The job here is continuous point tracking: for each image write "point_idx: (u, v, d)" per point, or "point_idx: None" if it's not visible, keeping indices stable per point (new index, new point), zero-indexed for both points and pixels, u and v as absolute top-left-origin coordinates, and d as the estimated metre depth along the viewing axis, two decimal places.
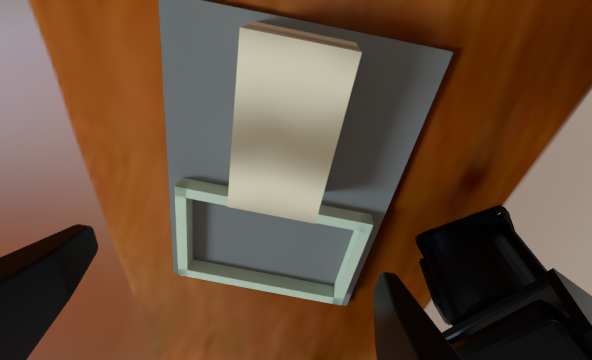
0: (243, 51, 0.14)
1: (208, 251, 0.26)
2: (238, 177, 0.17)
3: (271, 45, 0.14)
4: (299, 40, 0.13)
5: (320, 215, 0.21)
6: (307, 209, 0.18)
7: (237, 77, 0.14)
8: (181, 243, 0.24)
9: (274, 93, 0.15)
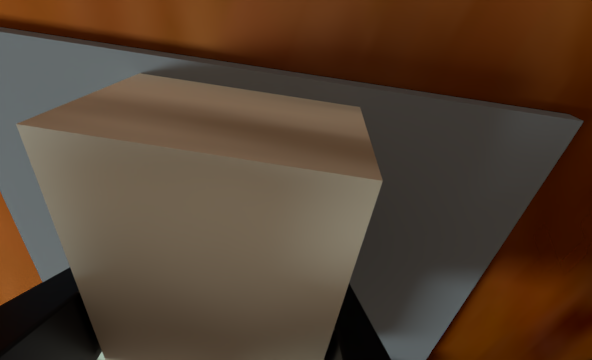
0: (51, 181, 0.05)
1: None
2: None
3: (119, 166, 0.05)
4: (195, 153, 0.05)
5: None
6: None
7: (60, 234, 0.06)
8: None
9: (160, 265, 0.06)
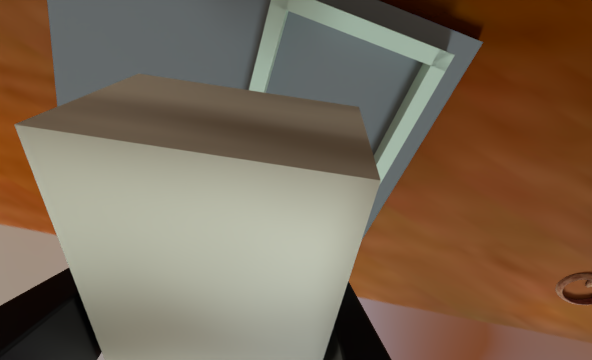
0: (49, 181, 0.05)
1: None
2: None
3: (117, 166, 0.05)
4: (193, 153, 0.05)
5: (255, 67, 0.16)
6: None
7: (59, 234, 0.06)
8: None
9: (159, 265, 0.06)
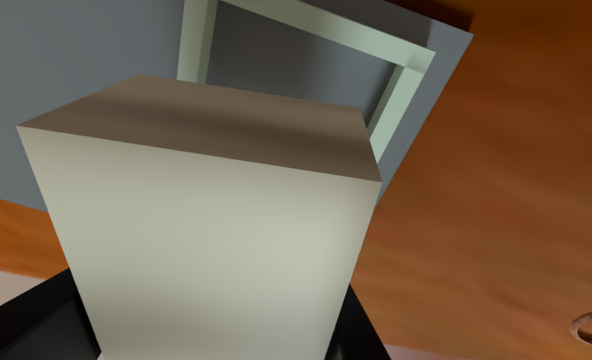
0: (51, 182, 0.05)
1: None
2: None
3: (119, 167, 0.05)
4: (194, 155, 0.05)
5: (179, 73, 0.12)
6: None
7: (60, 235, 0.06)
8: None
9: (160, 266, 0.06)
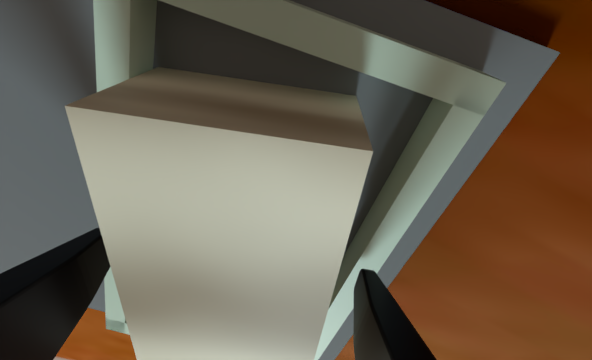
0: (91, 156, 0.06)
1: None
2: (150, 351, 0.09)
3: (150, 142, 0.06)
4: (214, 129, 0.05)
5: None
6: None
7: (95, 204, 0.06)
8: None
9: (181, 232, 0.07)
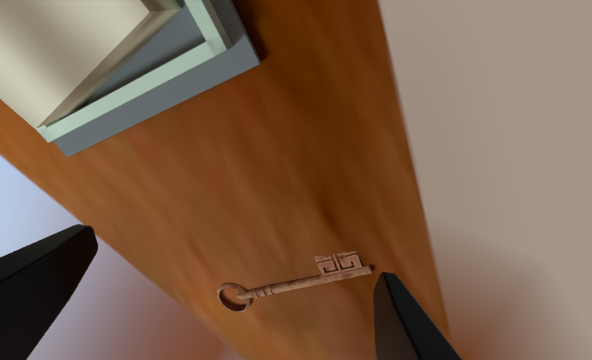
0: None
1: None
2: None
3: None
4: None
5: None
6: (32, 109, 0.16)
7: None
8: None
9: None
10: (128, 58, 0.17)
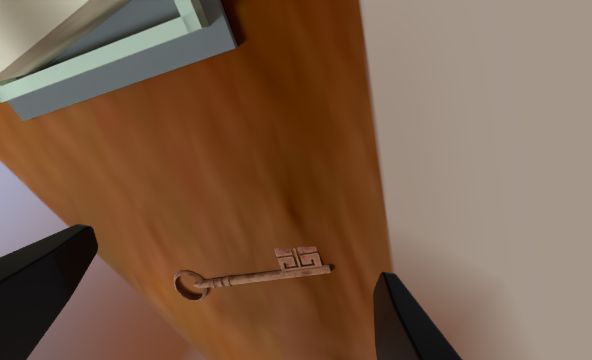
0: None
1: None
2: None
3: None
4: None
5: None
6: None
7: None
8: None
9: None
10: (97, 23, 0.17)
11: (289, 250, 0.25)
